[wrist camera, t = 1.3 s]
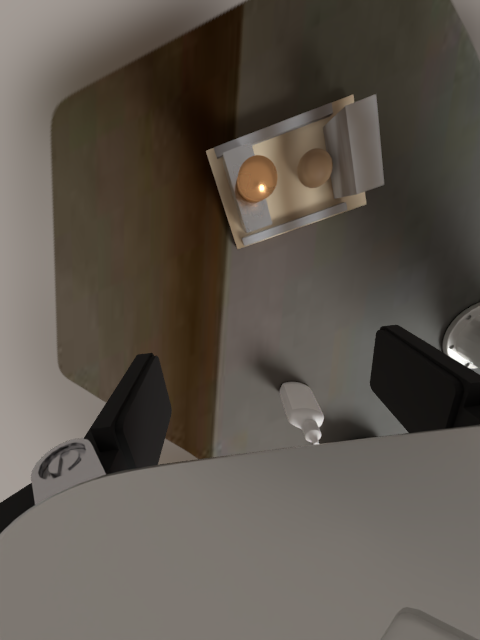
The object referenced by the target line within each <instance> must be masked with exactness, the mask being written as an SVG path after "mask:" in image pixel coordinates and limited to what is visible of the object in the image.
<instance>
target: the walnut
mask: <svg viewBox="0 0 480 640" xmlns="http://www.w3.org/2000/svg"><path fill="white" fill-rule="evenodd" d="M332 169H333V162H332V158H331V156H330V154H329V153H328V152H327V151H325V150H324V149H320V148H315V149H311V150H309V151H308V152H306V153H305V154H304V155H303V156H302V158H301V159H300V161H299V164H298V168H297V174H298V178H299V180H300V182H301V183H302V184H303V185H304V186H306V187H308V188H317V187H319V186H321V185H323V184H324V183H325V182H326V181H327V180H328V179H329V177H330V175H331V173H332Z"/></svg>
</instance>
